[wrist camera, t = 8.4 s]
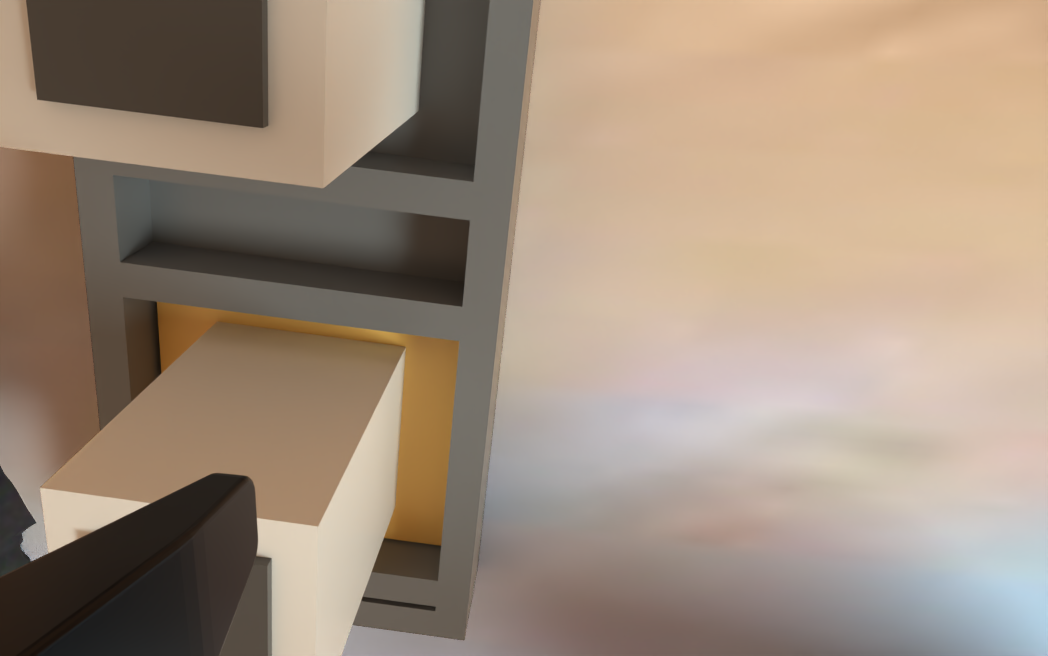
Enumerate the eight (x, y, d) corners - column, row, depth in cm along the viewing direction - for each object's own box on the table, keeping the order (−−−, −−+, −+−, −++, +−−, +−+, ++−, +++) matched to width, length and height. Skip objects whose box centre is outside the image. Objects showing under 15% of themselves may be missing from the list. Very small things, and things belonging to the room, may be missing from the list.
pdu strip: (477, 571, 24) (424, 855, 16) (164, 528, 24) (-35, 789, 16) (570, -270, 16) (554, -493, 8) (106, -324, 16) (-326, -590, 9)
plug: (395, 506, 22) (310, 741, 15) (221, 482, 22) (60, 706, 15) (405, 346, 20) (314, 534, 13) (216, 321, 20) (32, 495, 13)
